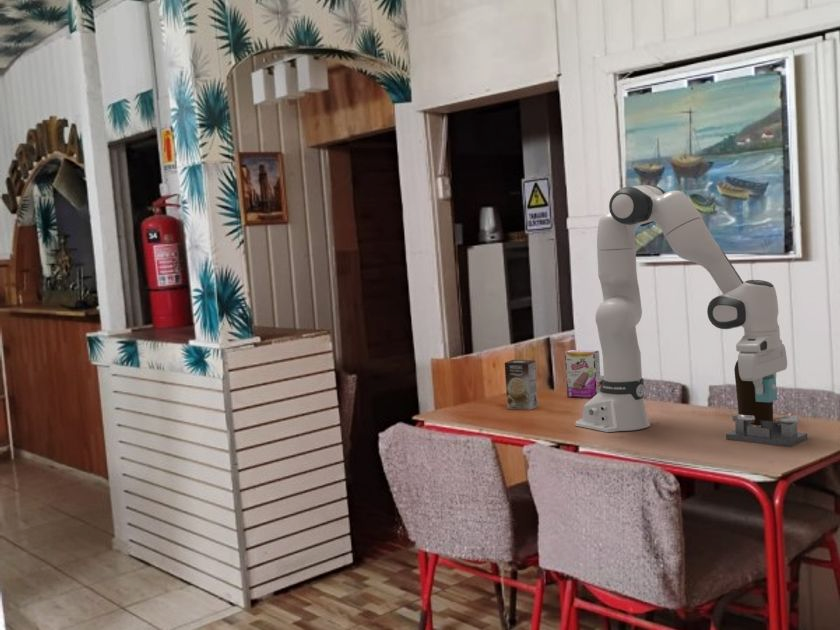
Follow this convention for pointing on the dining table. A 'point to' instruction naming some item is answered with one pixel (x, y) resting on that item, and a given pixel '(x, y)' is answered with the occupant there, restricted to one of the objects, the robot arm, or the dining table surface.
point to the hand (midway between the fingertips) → (765, 392)
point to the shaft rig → (767, 431)
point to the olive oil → (751, 400)
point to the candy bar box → (582, 373)
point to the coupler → (767, 390)
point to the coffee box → (521, 384)
